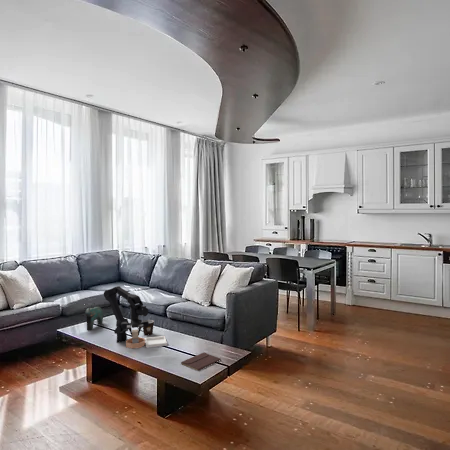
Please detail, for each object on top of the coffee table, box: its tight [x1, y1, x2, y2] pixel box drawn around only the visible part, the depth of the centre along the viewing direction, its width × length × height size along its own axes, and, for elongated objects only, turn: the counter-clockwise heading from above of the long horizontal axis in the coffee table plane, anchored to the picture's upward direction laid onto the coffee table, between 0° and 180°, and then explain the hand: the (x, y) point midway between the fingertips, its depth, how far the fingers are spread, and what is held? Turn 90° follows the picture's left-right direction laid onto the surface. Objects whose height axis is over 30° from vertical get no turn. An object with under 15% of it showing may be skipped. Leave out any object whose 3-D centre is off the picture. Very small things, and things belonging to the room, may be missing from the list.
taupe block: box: [131, 328, 139, 338], centre depth 255 cm, size 4×5×4 cm
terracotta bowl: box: [125, 336, 146, 349], centre depth 253 cm, size 13×13×4 cm
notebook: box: [180, 351, 221, 372], centre depth 225 cm, size 15×20×2 cm
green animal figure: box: [84, 302, 104, 331], centre depth 295 cm, size 20×6×20 cm, turn 167°
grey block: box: [132, 338, 139, 344], centre depth 251 cm, size 4×5×4 cm
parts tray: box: [144, 335, 168, 348], centre depth 257 cm, size 14×15×2 cm
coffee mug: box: [140, 319, 155, 336], centre depth 275 cm, size 12×9×10 cm
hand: (135, 336), depth 255 cm, fingers closed on taupe block, 4 cm apart
